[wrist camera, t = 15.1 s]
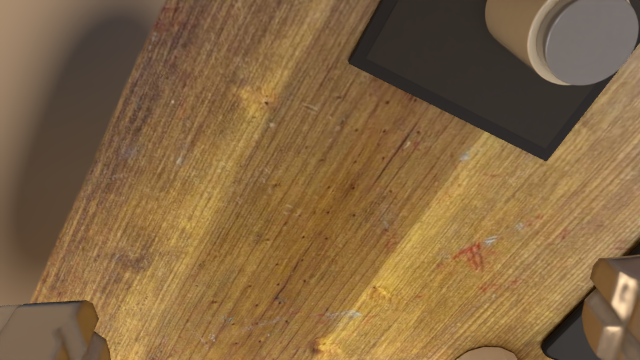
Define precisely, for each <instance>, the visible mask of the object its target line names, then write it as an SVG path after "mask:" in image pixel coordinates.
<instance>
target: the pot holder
mask: <svg viewBox="0 0 640 360" xmlns="http://www.w3.org/2000/svg"><path fill="white" fill-rule="evenodd" d="M629 2H630V4H631V6H632V7H633V9H634V11H635V13H636V15H637V19H638V26H639V30H638V38H637V41H636V45H635V47H634V49H633V51H634V50H635V48H636V47H637V46H638V45H639V43H640V0H629ZM486 3H487V0H381V1H380V3H379V5H378V6H377V8H376V10H375V12H374V14H373V16H372V18H371V19H370V21H369V23H368V25H367V27H366V29H365V31H364V32H363V34H362V36H361V38H360V40H359V42H358V43H357V45H356V47H355V49H354V51H353V53H352V55H351V56H350V58H349V60H348V62H349V64H351V65H353V66H355V67H357V68H359V69H361V70H363V71H365V72H367V73H369V74H371V75H373V76H375V77H377V78H379V79H381V80H383V81H385V82H387V83H389V84H391V85H393V86H395V87H397V88H399V89H401V90H403V91H405V92H407V93H409V94H411V95H413V96H415V97H417V98H419V99H421V100H424V101H426V102H428V103H430V104H432V105H434V106H436V107H438V108H440V109H442V110H444V111H446V112H448V113H450V114H452V115H454V116H456V117H458V118H460V119H462V120H464V121H466V122H468V123H470V124H472V125H474V126H476V127H478V128H480V129H482V130H484V131H486V132H488V133H490V134H492V135H494V136H496V137H498V138H500V139H502V140H504V141H506V142H508V143H510V144H512V145H514V146H516V147H518V148H520V149H522V150H524V151H526V152H528V153H530V154H532V155H534V156H536V157H538V158H540V159H542V160H544V161H547V160H548V159H549V158H550V156H551V155H552V154H553V153H554V151H555V150H556V149H557V147H558V146H559V145H560V144H561V142H562V141H563V140H564V139H565V137H566V136H567V135H568V133H569V132H570V131H571V130H572V128H573V127H574V126H575V125H576V123H577V122H578V121H579V120H580V118H581V117H582V116H583V114H584V113H585V112H586V111H587V109H588V108H589V107H590V106H591V104H592V103H593V102H594V100H595V99H596V98H597V97H598V95H599V94H600V93H601V92H602V90H603V89H604V88H605V87H606V85H607V84H608V83H609V81H610V80H611V79H612V78H613V76H614V75H615V74H616V73H617V71H618V70H619V69H618V70H617V71H616V72H615V73H614V74H612V75H611V76H609V77H608V78H606V79H604V80H602V81H599V82H597V83H593V84H589V85H560V84H555V83H552V82H549V81H547V80H545V79H544V78H542V77H541V76H540V75H538V74H537V73H536V72H535V71H533V70H532V69H531V68H530V67H528V66H527V65H526V64H525V63H523V62H522V61H521V60H520V59H518V58H517V57H516V56H515V55H513V54H512V53H511V52H510V51H508V50H507V49H506V48H505V47H503V46H502V45H501V44H500V43H498V42H497V41H496V40H495V39H494V38H493V36H492V35H491V34H490V32H489V30H488V27H487V24H486V19H485V8H486ZM633 51H632V52H633ZM631 54H632V53H631Z"/></svg>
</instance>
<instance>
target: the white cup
mask: <svg viewBox="0 0 640 360" xmlns="http://www.w3.org/2000/svg"><path fill="white" fill-rule="evenodd" d="M456 360H518V359H517V357H516V356H515V354H514V353H512V352H510V351H507V350H505V349H503V348H500V347H482V348H478V349H475V350H471V351H468V352H466V353H465V354H463V355H462V356H460V357H459V358H458V359H456Z"/></svg>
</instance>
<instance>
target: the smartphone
mask: <svg viewBox="0 0 640 360" xmlns="http://www.w3.org/2000/svg"><path fill="white" fill-rule="evenodd" d="M633 255H640V244H639V245H638V246H637V247H636V248H635V249H634V250H633V251H632V252H631V253H630V254H629V255H628V256H633ZM584 301H585V300H584ZM584 301H583V302H582V303H581V304H580V306H579V307H578V308H577V309H576V310H575V311H574V312H573V313H572V314H571V315H570V316H569V317H568V318H567V319H566V320H565V321H564V322H563V323H562V324H561V325H560V326H559V327H558V328H557V329H556V330H555V331H554V332H553V333H552V334H551V335H550V336H549V337H548V338H547V339H546V340H545V341H544V342H543V344H542V351H543V353H544V354H545V355H546V356H547V357H549V358H551V359H554V360H602V359H600V358H599V357H597V356H596V354H595V353H594V351H593V350H592V348H591V346H590V345H589V343H588V340H587V338H586V335H585V333H584V328H583V321H582V311H583V306H584Z"/></svg>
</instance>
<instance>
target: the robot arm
mask: <svg viewBox="0 0 640 360" xmlns="http://www.w3.org/2000/svg"><path fill="white" fill-rule="evenodd" d="M590 279H591V280H592V282H593V283H594V285H595V286H596V289H595V290H594V291H593V292H592V293H591V294H590V295H589V296H588V297H587V298H586V299H585V301H584V306H583V311H582V321H583V328H584V333H585V335H586V338H587V340H588V343H589V345H590V346H591V348H592V350H593V351H594V353H595V354H596V356H597V357H599V358H600V359H602V360H640V255H633V256H621V257H610V258H599V259H598V261H597V262H596V263H595V264H594V266H593V269H592V273H591V277H590ZM98 320H99V318H98V315H97V313H96V310H95V308H94V305H93V303H91V302H89V301H87V300H82V301H65V302H48V303H31V304H23V305H7V306H0V360H111V358H110V351H109V348H108V344H107V341H106V339H104V338H103V337H102V336H100V335H99V334H98V333H96V332H95V331H94V330H95V327H96V325H97V322H98Z"/></svg>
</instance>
